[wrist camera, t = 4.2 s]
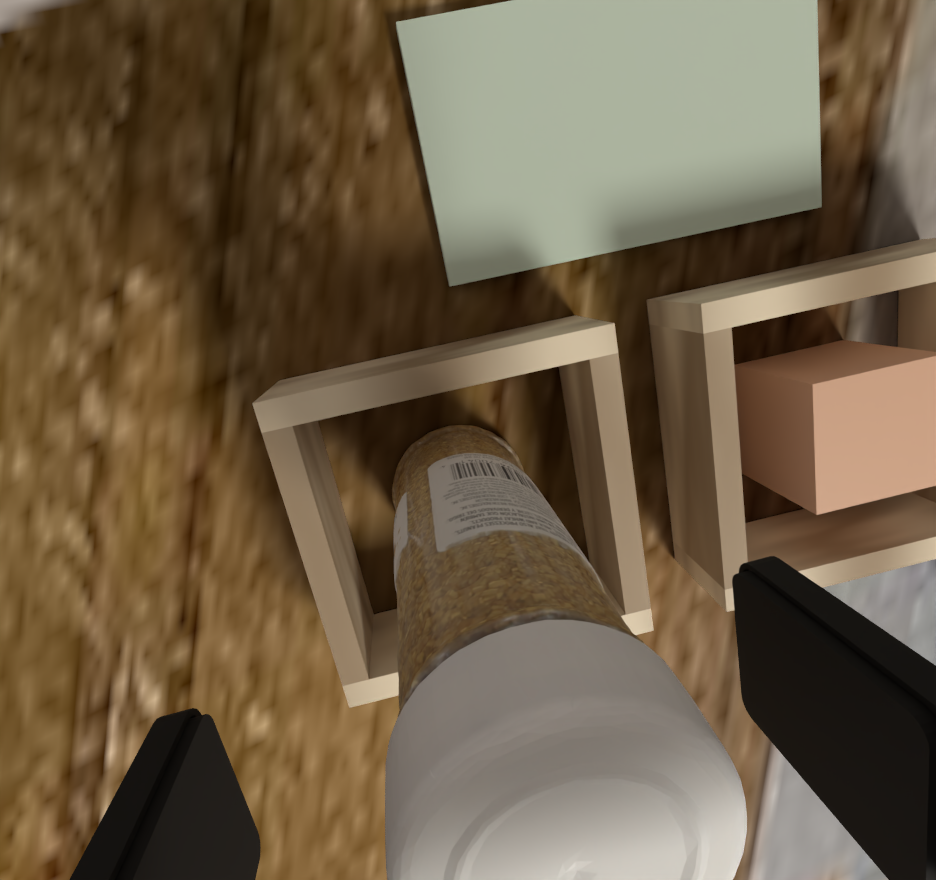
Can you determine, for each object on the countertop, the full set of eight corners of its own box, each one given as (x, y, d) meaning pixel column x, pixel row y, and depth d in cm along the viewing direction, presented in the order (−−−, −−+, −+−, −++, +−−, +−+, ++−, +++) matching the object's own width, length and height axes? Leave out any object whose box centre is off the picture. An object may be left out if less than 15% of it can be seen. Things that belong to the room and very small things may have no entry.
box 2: (921, 239, 19) (1032, 230, 16) (914, 500, 22) (1008, 540, 19) (646, 299, 19) (700, 304, 15) (674, 560, 21) (726, 611, 18)
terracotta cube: (840, 339, 20) (946, 353, 16) (842, 447, 21) (941, 484, 17) (731, 364, 20) (812, 384, 16) (739, 472, 21) (816, 514, 17)
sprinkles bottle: (367, 507, 19) (307, 954, 7) (439, 394, 19) (533, 648, 6) (478, 568, 21) (616, 1053, 8) (551, 464, 20) (838, 807, 7)
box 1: (575, 315, 18) (614, 323, 15) (613, 575, 21) (653, 630, 18) (279, 380, 18) (252, 403, 15) (357, 638, 21) (349, 707, 17)
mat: (806, -49, 16) (815, -57, 16) (813, 208, 18) (822, 207, 18) (395, 28, 16) (396, 22, 15) (449, 286, 18) (450, 286, 17)
